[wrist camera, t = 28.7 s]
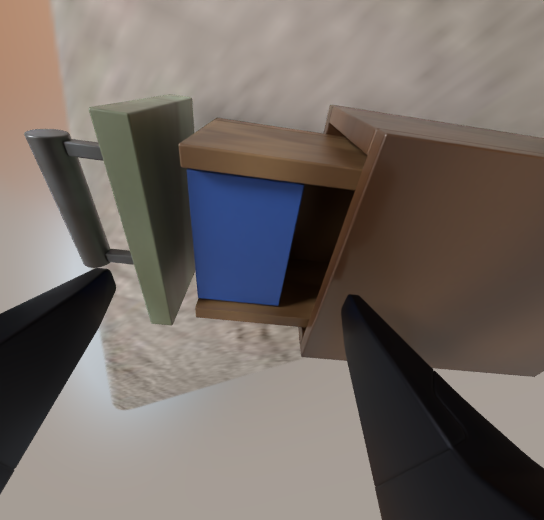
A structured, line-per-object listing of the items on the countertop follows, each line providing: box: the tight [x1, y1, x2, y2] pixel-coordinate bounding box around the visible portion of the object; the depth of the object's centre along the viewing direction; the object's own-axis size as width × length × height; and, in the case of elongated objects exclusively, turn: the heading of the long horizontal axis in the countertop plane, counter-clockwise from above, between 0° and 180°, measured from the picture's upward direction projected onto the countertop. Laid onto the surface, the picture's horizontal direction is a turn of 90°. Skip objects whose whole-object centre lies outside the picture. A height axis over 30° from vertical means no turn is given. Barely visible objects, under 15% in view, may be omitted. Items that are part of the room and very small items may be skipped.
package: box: [186, 168, 304, 306], centre depth 13 cm, size 7×4×5 cm, turn 173°
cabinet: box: [298, 105, 544, 377], centre depth 14 cm, size 15×12×9 cm
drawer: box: [25, 95, 368, 327], centre depth 13 cm, size 18×10×7 cm, turn 83°
